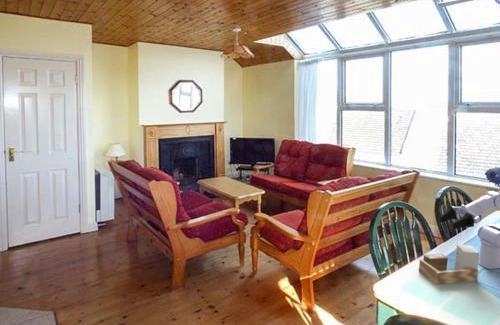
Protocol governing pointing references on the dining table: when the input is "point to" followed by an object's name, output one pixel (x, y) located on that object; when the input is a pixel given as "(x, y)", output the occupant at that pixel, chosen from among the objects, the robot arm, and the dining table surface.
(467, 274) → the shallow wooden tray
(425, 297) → the dining table surface
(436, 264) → the brown rectangular block
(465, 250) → the small box
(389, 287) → the dining table surface
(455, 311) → the dining table surface
